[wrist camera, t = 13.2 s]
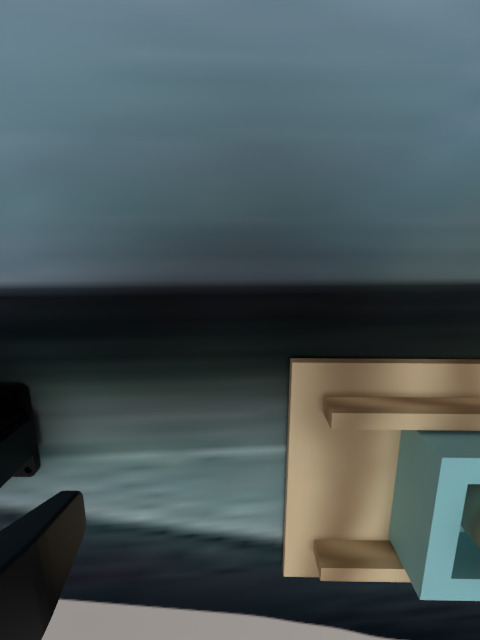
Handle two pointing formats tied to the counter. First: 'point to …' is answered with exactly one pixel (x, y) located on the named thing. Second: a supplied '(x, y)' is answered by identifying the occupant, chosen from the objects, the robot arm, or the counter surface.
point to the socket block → (436, 513)
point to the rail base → (360, 455)
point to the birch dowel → (472, 513)
